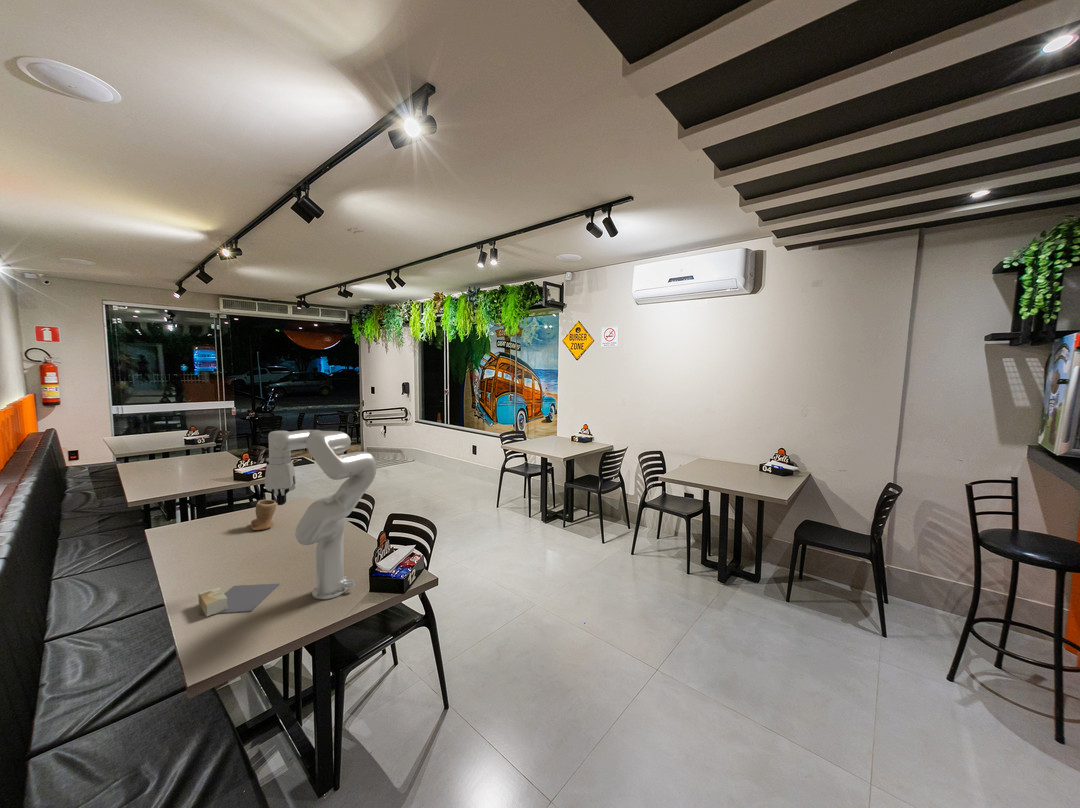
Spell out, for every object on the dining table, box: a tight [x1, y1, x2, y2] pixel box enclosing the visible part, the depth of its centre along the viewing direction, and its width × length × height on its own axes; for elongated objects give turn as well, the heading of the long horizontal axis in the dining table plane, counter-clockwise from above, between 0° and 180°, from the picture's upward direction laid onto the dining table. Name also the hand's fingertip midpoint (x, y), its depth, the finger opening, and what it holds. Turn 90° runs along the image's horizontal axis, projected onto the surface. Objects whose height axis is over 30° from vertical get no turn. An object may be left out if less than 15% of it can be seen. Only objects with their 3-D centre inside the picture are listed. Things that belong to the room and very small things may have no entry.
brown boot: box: [250, 499, 277, 531], centre depth 221 cm, size 15×12×15 cm
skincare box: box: [197, 586, 228, 617], centre depth 143 cm, size 6×4×12 cm
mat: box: [198, 583, 280, 616], centre depth 149 cm, size 17×19×1 cm
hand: (281, 504), depth 164 cm, fingers closed
